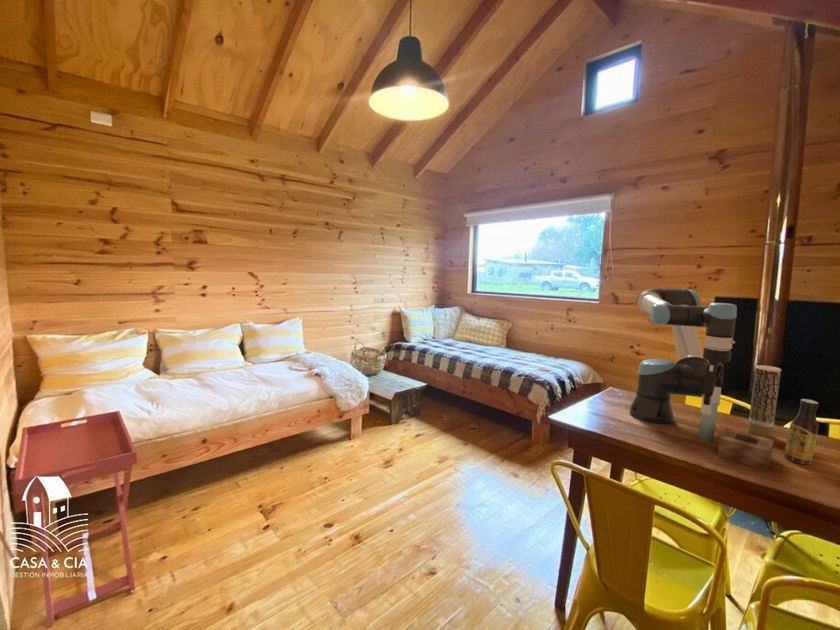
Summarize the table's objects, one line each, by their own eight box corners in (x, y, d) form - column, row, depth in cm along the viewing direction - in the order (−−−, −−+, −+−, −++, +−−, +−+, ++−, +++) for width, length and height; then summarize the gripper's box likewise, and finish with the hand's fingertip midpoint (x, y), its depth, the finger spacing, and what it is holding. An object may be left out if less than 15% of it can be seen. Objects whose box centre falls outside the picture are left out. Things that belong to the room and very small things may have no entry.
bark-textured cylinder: (776, 439, 137) (786, 370, 134) (754, 437, 139) (763, 369, 136) (763, 431, 144) (772, 365, 141) (743, 429, 145) (751, 364, 142)
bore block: (717, 455, 124) (719, 437, 123) (724, 444, 132) (726, 427, 131) (766, 470, 115) (769, 451, 115) (771, 457, 124) (773, 439, 123)
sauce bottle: (778, 455, 125) (787, 396, 122) (796, 455, 125) (805, 396, 123) (800, 466, 118) (809, 404, 116) (818, 465, 119) (828, 404, 116)
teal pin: (697, 439, 135) (702, 401, 133) (700, 436, 138) (705, 399, 136) (711, 443, 132) (716, 404, 131) (714, 440, 135) (719, 402, 133)
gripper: (724, 355, 120) (716, 421, 122) (738, 346, 137) (730, 403, 139) (695, 351, 125) (688, 414, 128) (711, 342, 142) (705, 398, 145)
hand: (710, 409), depth 133 cm, fingers open, 13 cm apart
